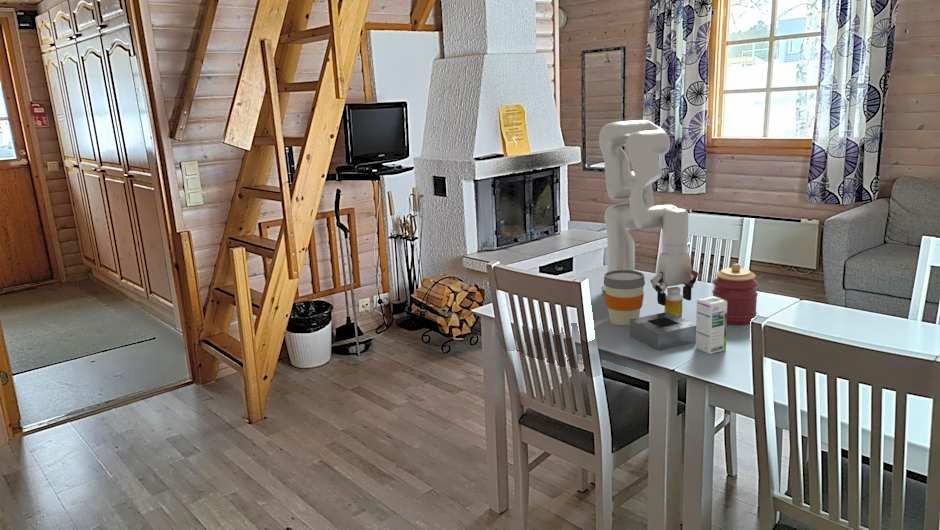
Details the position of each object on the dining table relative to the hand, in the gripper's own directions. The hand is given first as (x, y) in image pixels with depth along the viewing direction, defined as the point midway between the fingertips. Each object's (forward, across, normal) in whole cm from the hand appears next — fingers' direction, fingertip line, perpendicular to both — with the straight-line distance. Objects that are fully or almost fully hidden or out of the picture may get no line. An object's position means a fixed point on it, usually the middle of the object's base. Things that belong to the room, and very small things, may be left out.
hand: (674, 301), depth 208 cm
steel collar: (+6, +14, +12) cm, 19 cm away
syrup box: (+6, +8, +25) cm, 27 cm away
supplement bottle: (+6, 0, -1) cm, 6 cm away
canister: (+6, -15, +9) cm, 19 cm away
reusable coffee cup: (+6, +15, -6) cm, 17 cm away
